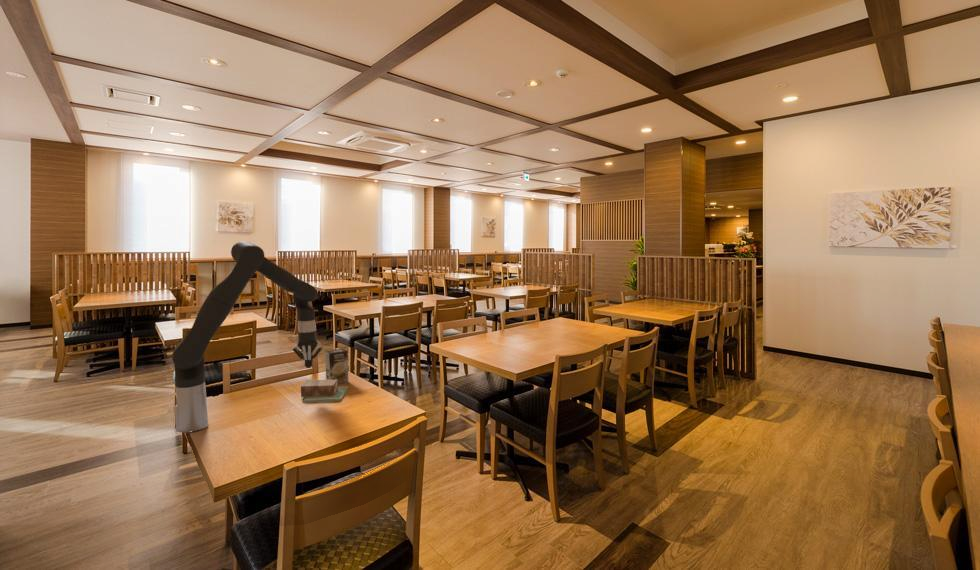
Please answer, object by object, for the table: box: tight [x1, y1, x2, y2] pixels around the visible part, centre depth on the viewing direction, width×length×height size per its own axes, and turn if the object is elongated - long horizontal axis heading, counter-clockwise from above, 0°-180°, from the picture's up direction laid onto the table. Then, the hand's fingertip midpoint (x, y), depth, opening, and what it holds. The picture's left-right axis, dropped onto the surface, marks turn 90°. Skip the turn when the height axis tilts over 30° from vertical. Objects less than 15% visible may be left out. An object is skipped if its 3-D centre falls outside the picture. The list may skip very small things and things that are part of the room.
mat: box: [302, 386, 349, 403], centre depth 198 cm, size 16×16×1 cm
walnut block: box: [300, 379, 339, 398], centre depth 198 cm, size 5×8×14 cm
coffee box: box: [325, 348, 349, 385], centre depth 214 cm, size 9×6×16 cm
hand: (308, 367), depth 196 cm, fingers closed
